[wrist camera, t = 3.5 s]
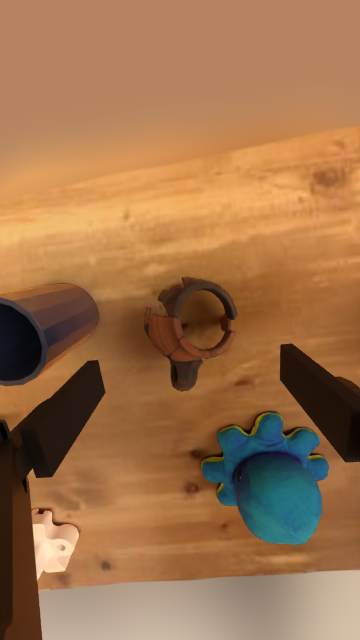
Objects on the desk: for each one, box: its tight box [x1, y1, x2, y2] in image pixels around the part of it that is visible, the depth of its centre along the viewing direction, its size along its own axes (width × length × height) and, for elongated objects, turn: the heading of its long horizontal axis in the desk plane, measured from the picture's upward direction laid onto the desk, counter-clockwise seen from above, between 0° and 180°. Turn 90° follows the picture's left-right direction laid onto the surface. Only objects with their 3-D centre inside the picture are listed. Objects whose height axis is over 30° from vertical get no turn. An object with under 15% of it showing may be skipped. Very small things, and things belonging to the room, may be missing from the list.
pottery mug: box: [144, 277, 237, 392], centre depth 23 cm, size 12×10×8 cm
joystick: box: [31, 509, 79, 581], centre depth 26 cm, size 11×8×20 cm
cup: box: [0, 283, 99, 386], centre depth 21 cm, size 7×7×10 cm
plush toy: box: [201, 413, 329, 545], centre depth 27 cm, size 17×17×8 cm
